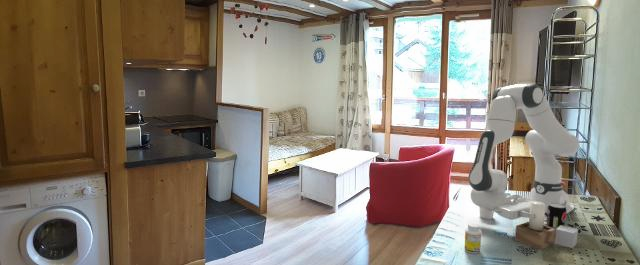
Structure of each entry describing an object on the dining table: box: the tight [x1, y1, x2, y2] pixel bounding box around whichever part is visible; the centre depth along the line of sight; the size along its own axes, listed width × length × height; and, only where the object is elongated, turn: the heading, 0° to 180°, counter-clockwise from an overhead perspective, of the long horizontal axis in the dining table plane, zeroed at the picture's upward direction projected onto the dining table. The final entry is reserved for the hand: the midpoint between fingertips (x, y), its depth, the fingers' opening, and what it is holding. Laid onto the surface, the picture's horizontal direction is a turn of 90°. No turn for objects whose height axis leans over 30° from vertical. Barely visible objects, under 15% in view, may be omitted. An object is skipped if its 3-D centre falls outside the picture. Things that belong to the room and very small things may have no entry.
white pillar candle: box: [528, 201, 546, 230], centre depth 152 cm, size 5×5×10 cm
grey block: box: [554, 225, 579, 249], centre depth 151 cm, size 6×6×6 cm
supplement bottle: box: [464, 222, 482, 255], centre depth 144 cm, size 6×6×10 cm
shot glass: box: [479, 207, 495, 220], centre depth 181 cm, size 7×7×7 cm
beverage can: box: [545, 203, 567, 229], centre depth 161 cm, size 7×7×12 cm
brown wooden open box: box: [514, 221, 556, 250], centre depth 153 cm, size 10×10×6 cm
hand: (539, 215), depth 151 cm, fingers closed on white pillar candle, 5 cm apart
